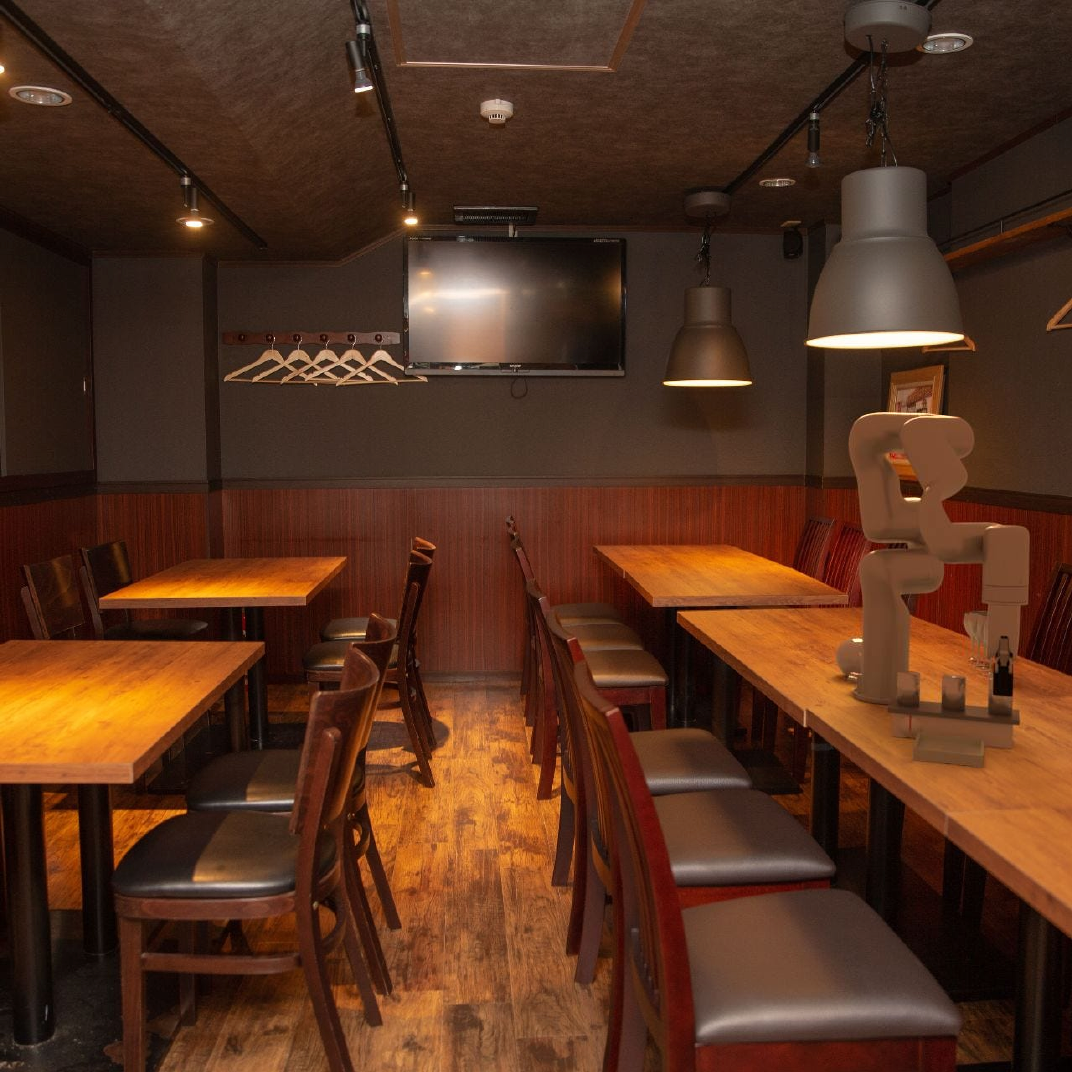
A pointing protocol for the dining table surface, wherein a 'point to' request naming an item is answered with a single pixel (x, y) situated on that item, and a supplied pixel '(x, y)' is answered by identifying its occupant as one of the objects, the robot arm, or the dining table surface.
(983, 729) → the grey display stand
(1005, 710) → the cylinder
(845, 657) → the potion bottle
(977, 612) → the goblet set
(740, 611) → the dining table surface
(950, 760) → the grey square tray
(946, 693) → the knob
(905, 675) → the left steel weight
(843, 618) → the dining table surface
